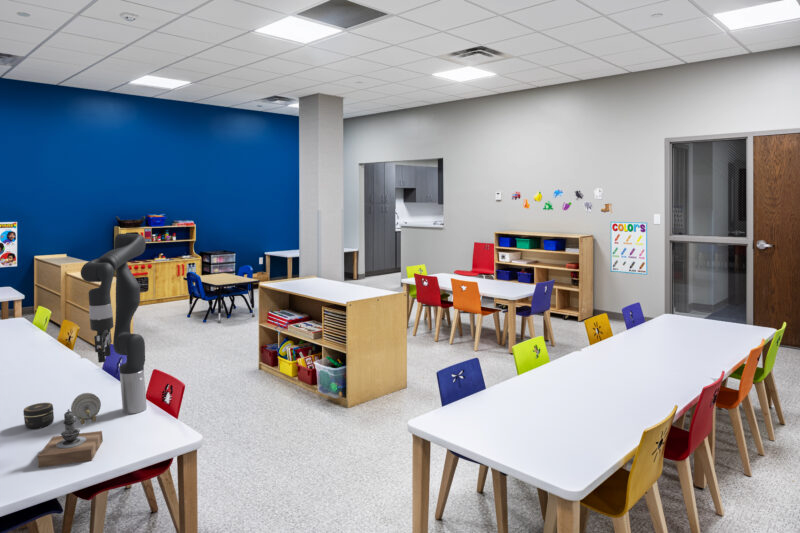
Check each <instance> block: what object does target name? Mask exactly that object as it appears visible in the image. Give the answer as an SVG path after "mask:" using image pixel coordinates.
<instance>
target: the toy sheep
mask: <svg viewBox="0 0 800 533" xmlns="http://www.w3.org/2000/svg"><path fill="white" fill-rule="evenodd" d="M101 406H102V402H101V400H100V398H99V397H98V396H97V395H96V394H94V393H91V392H84V393H80V394H79V395H77V396H76V397H75V398H74V400H73V401H72V403H71V407H70V411H72V412H73V413H74V418H76V419H77V420H80V424H81V425H85V424H86V423H85V422H86V421H89V420H91V419H92V422H93V423H96V421H97V415H98V414H99V413H100V411H101Z"/></svg>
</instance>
